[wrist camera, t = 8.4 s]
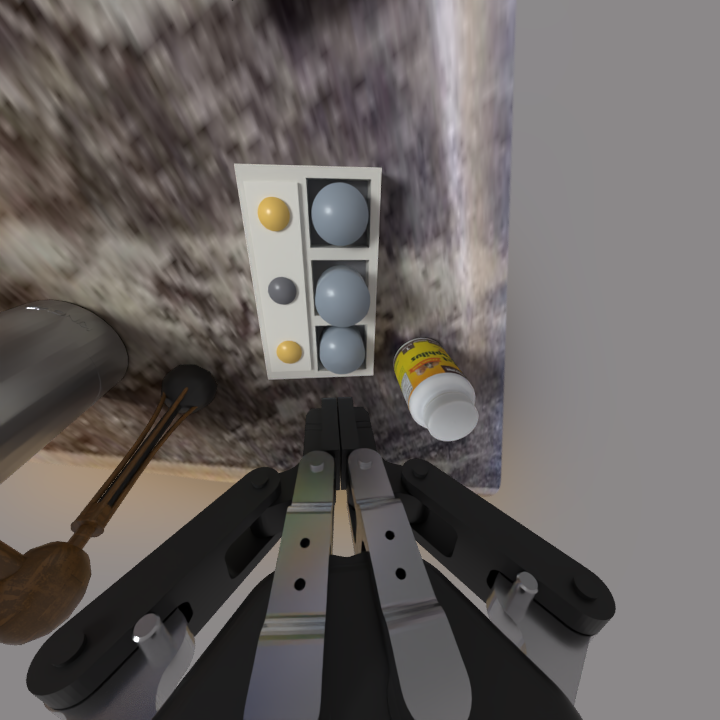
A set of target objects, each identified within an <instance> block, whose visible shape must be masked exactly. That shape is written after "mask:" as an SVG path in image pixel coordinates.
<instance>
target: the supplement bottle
mask: <svg viewBox="0 0 720 720" xmlns="http://www.w3.org/2000/svg"><path fill="white" fill-rule="evenodd" d="M393 367H394V372H395V375H396V377H397V380H398V382H399V385H400V387H401V390H402V393H403V395H404V398H405V400H406V403H407V405H408V408H409V410H410V413H411V415H412V417H413V419H414V420H415V421H416V422H417V423H418V424H419V425H421V426H423V427H425V428H427V429H428V430H429V432H430V434H431V435H432V436H433V437H435V438H436V439H438V440H442V441H454V440H458V439H461V438H463V437H465V436H466V435H468V434H469V433H470V432H471V431H472V430H473V429H474V428H475V426H476V424H477V422H478V411H477V409H476V407H475V406H474V404H475V392H474V389H473V387H472V385H471V383H470V382H469V381H468V379H467V378H466V377H465V376H464V374H463V373H462V372H461V371H460V369H459V368H458V367H457V365H456V364H455V363H454V362H453V360H452V359H451V358H450V357H449V355H448V354H447V353H446V352H445V350H444V349H443V348H442V347H441V346H440V345H439V344H438V343H437V342H436V341H434V340H431V339H428V338H417V339H413V340H411V341H409V342H407V343H405V344H404V345H403V346H402V347H400V349H399V350H398V351H397V353H396V355H395V357H394V362H393Z"/></svg>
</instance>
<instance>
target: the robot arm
mask: <svg viewBox="0 0 720 720" xmlns="http://www.w3.org/2000/svg"><path fill="white" fill-rule="evenodd" d="M127 367H128V356H127V352H126V349H125V346H124V344H123V342H122V341H121V339H120V337H119V336H118V335H117V333H116V332H115V331H114V330H113V329H112V328H111V327H110V326H109V325H108V324H107V323H106V322H105V321H104V320H102V319H101V318H99V317H98V316H96V315H95V314H93V313H92V312H90V311H88V310H86V309H84V308H82V307H79V306H77V305H74V304H70V303H67V302H63V301H56V300H38V301H34V302H30V303H27V304H24V305H21V306H18V307H15V308H12V309H9V310H6V311H3V312H0V484H2V483H3V482H4V481H5V480H6V479H7V478H8V477H10V476H11V475H12V474H13V473H14V472H15V471H16V470H18V469H19V468H20V467H21V466H22V465H24V464H25V463H26V462H27V461H28V460H30V459H31V458H32V457H33V456H34V455H35V454H36V453H38V452H39V451H40V450H41V449H42V448H43V447H44V446H46V445H47V444H48V443H49V442H50V441H51V440H53V439H54V438H55V437H56V436H57V435H58V434H59V433H61V432H62V431H63V430H64V429H65V428H66V427H67V426H69V425H70V424H71V423H72V422H73V421H74V420H76V419H77V418H78V417H79V416H80V415H81V414H82V413H84V412H85V411H86V410H87V409H88V408H89V407H91V406H92V405H93V404H94V403H95V402H96V401H97V400H99V399H100V398H101V397H102V396H103V395H104V394H105V393H106V392H108V391H109V390H110V389H111V388H112V387H113V386H114V385H116V384H117V383H118V382H119V381H120V380H121V379H122V378H123V376H124V375H125V373H126V370H127ZM340 479H341V490H347V510H348V516H349V522H350V528H351V534H352V540H353V546H354V554H355V555H354V556H351V557H342V556H336V555H332V554H333V530H334V505H335V503H336V490H340ZM281 537H282V538H281ZM280 538H281V543H280V548H279V554H278V558H277V563H276V569H275V571H274V572H272V573H271V574H269V575H268V576H266V577H265V578H264V579H263V580H262V581H260V583H259V584H258V585H257V586H256V587H255V588H254V589H253V590H252V591H251V592H250V594H249V595H248V596H247V597H246V599H245V600H244V601H243V603H242V604H241V605H240V607H239V608H238V609H237V610H236V612H235V613H234V614H233V615H232V617H231V618H230V619H229V621H228V622H227V623H226V624H225V626H224V627H223V628H222V629H221V631H220V632H219V633H218V635H217V636H216V637H215V638H214V640H213V641H212V643H211V644H210V645H209V646H208V647H207V649H206V650H205V651H204V653H203V654H202V655H201V656H200V658H199V659H198V660H197V662H196V663H195V664H194V666H193V667H192V668H191V669H190V671H189V672H188V673H187V674H186V676H185V677H184V678H183V680H182V681H181V682H180V683H179V685H178V686H177V684H178V682H179V680H180V679H181V678H182V676H183V675H184V673H185V672H186V670H187V669H188V667H189V665H190V663H191V660H192V658H193V655H194V650H195V638H194V637H195V636H196V635H197V633H198V632H199V631H200V630H201V629H202V627H203V626H204V625H205V624H206V623H207V622H208V621H209V620H210V618H211V617H212V616H213V615H214V614H215V613H216V611H217V610H218V609H219V608H220V607H221V606H222V605H223V603H224V602H225V601H226V600H227V599H228V598H229V597H230V595H231V594H232V593H233V592H234V591H235V590H236V589H237V587H238V586H239V585H240V584H241V583H242V582H243V581H244V579H245V578H246V577H247V576H248V575H249V574H250V572H251V571H252V570H253V569H254V568H255V567H256V566H257V564H258V563H259V562H260V561H261V560H262V559H263V558H264V556H265V555H266V554H267V553H268V552H269V550H271V548H272V547H273V546H274V545H275V544H276V543H277V541H278V540H279V539H280ZM415 540H416V541H417V542H418V543H419V544H420V545H421V546H422V547H423V548H425V549H426V550H427V551H428V552H429V553H430V554H431V555H432V556H433V557H435V558H436V559H437V560H438V561H439V562H440V563H441V564H442V565H444V566H445V567H446V568H447V569H448V570H449V571H450V572H451V573H452V574H454V575H455V576H456V577H457V578H458V579H459V580H460V581H461V582H463V583H464V584H465V585H466V586H467V587H468V588H469V589H470V590H471V591H473V592H474V593H475V594H476V595H477V596H478V597H479V598H480V599H482V600H483V601H484V602H485V603H486V608H487V612H488V615H489V618H490V620H491V621H490V620H489V619H488V618H487V617H486V616H485V615H484V614H483V613H482V612H481V611H480V610H479V609H478V608H477V607H476V606H475V605H474V604H473V603H472V602H471V601H470V600H469V599H468V598H467V597H466V596H465V595H464V594H463V593H462V592H461V591H460V590H458V589H457V588H456V587H455V586H454V585H453V584H452V583H451V582H450V581H449V580H448V579H447V578H446V577H445V576H444V575H443V574H442V573H441V572H440V571H439V570H438V569H437V568H435V567H434V566H433V565H431V564H430V563H428V562H427V561H425V560H423V559H422V558H421V555H420V552H419V550H418V546H417V543H416V541H415ZM615 609H616V608H615V602H614V599H613V596H612V594H611V592H610V591H609V589H608V588H607V586H606V585H605V584H604V583H603V582H602V580H601V579H600V578H599V577H598V576H596V575H595V574H594V573H593V572H591V571H590V570H588V569H587V568H586V567H584V566H583V565H581V564H580V563H578V562H577V561H575V560H574V559H572V558H571V557H569V556H568V555H566V554H565V553H563V552H562V551H560V550H559V549H557V548H556V547H554V546H553V545H551V544H550V543H548V542H547V541H545V540H544V539H542V538H541V537H539V536H538V535H536V534H535V533H533V532H532V531H530V530H529V529H528V528H526V527H525V526H523V525H522V524H520V523H519V522H517V521H516V520H514V519H513V518H511V517H510V516H508V515H507V514H505V513H503V512H502V511H501V510H499V509H497V508H496V507H495V506H493V505H492V504H490V503H489V502H487V501H486V500H484V499H483V498H481V497H480V496H478V495H477V494H475V493H474V492H472V491H471V490H469V489H468V488H466V487H465V486H463V485H462V484H460V483H459V482H458V481H456V480H455V479H453V478H452V477H450V476H449V475H447V474H446V473H444V472H443V471H441V470H440V469H438V468H437V467H435V466H434V465H432V464H431V463H429V462H427V461H425V460H422V459H411V460H408V461H407V462H405V463H404V465H403V466H401V465H397V464H392V463H389V462H387V461H385V460H384V459H382V458H381V456H380V455H379V454H378V453H377V450H376V445H375V441H374V436H373V432H372V428H371V423H370V418H369V414H368V412H367V411H366V410H365V409H364V408H363V407H353V400H352V397H338V398H337V401H336V398H322V408H317V409H311V410H310V411H309V412H308V414H307V415H306V425H305V438H304V451H303V457H302V459H301V460H300V462H299V464H298V465H296V466H295V467H294V468H292V469H290V470H287V471H284V472H281V473H278V472H277V471H276V470H275V469H273V468H269V467H261V468H257V469H254V470H252V471H251V472H249V473H248V474H247V475H245V476H244V477H243V478H242V479H240V480H239V481H238V482H237V483H236V484H234V485H233V486H232V487H231V488H230V489H228V490H227V491H226V492H225V493H224V494H222V495H221V496H220V497H219V498H217V499H216V500H215V501H214V502H213V503H212V504H210V505H209V506H208V507H206V508H205V509H204V510H203V511H202V512H200V513H199V514H198V515H197V516H196V517H194V518H193V519H192V520H191V521H189V522H188V523H187V524H186V525H185V526H183V527H182V528H181V529H180V530H179V531H177V532H176V533H175V534H174V535H172V536H171V537H170V538H169V539H168V540H166V541H165V542H164V543H163V544H162V545H160V546H159V547H158V548H157V549H156V550H154V551H153V552H152V553H151V554H150V555H148V556H147V557H146V558H144V559H143V560H142V561H141V562H140V563H138V564H137V565H136V566H135V567H134V568H132V570H130V571H129V572H127V573H126V574H125V575H124V576H123V577H121V578H120V579H119V580H118V581H117V582H116V583H114V584H113V585H112V586H111V587H109V588H108V589H107V590H106V591H104V592H103V593H102V594H101V595H100V596H98V597H97V598H96V599H95V600H93V601H92V602H91V603H90V604H89V605H87V606H86V607H85V608H84V609H83V610H81V611H80V612H79V613H78V614H76V615H75V616H74V617H73V618H72V619H70V620H69V621H68V622H67V623H66V624H64V625H63V626H62V627H61V628H59V629H58V630H57V631H56V632H55V633H54V634H53V635H52V636H51V637H50V638H49V639H48V640H47V641H46V642H45V643H44V644H43V645H42V647H41V648H40V649H39V651H38V652H37V654H36V655H35V657H34V659H33V660H32V662H31V665H30V667H29V670H28V673H27V679H26V683H27V687H28V690H29V691H30V692H31V693H32V694H33V695H35V696H36V697H37V698H39V699H40V700H41V701H43V703H44V705H45V707H46V708H47V709H48V710H49V711H51V712H52V713H53V714H54V715H56V716H57V717H58V718H60V719H61V720H582V718H581V716H580V714H579V713H578V712H577V710H576V709H575V707H574V703H575V699H576V694H577V690H578V686H579V682H580V678H581V673H582V669H583V665H584V660H585V657H586V652H587V648H588V644H589V642H590V641H591V640H592V639H593V638H594V637H595V636H596V635H597V634H598V632H599V631H600V630H601V629H602V628H603V627H604V626H605V624H606V623H607V622H608V621H609V620H610V619H611V618H612V617H613V616H614V613H615ZM176 686H177V687H176ZM175 688H176V689H175Z"/></svg>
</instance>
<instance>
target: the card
mask: <svg viewBox="0 0 720 720" xmlns="http://www.w3.org/2000/svg"><path fill="white" fill-rule="evenodd" d="M243 183H244V190H245V196H246V203H247V210H248V216H249V223H250V230H251V237H252V243H253V250H254V257H255V264H256V270H257V277H258V284H259V290H260V297H261V304H262V311H263V317H264V324H265V331H266V337H267V344H268V351H269V358H270V364H271V371H272V372H282V371H308V370H311V357H310V344H309V330H308V317H307V303H306V290H305V276H304V263H303V249H302V236H301V222H300V209H299V196H298V183H297V182H259V181H243Z"/></svg>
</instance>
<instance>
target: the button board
mask: <svg viewBox="0 0 720 720" xmlns="http://www.w3.org/2000/svg"><path fill="white" fill-rule="evenodd" d="M234 167H235V173H236V180H237V186H238V192H239V199H240V205H241V211H242V218H243V224H244V230H245V237H246V243H247V249H248V256H249V262H250V268H251V275H252V281H253V287H254V294H255V300H256V306H257V313H258V319H259V325H260V332H261V338H262V344H263V351H264V357H265V363H266V370H267V376H268V380H271V379H296V378H320V377H345V376H369V375H373V367H374V343H375V319H376V294H377V270H378V245H379V221H380V197H381V172H382V168H372V167H335V166H298V165H261V164H234ZM243 181H259V182H297V183H298V196H299V209H300V222H301V236H302V249H303V263H304V276H305V290H306V303H307V317H308V330H309V344H310V357H311V370H308V371H282V372H272V371H271V364H270V358H269V351H268V344H267V337H266V331H265V324H264V317H263V311H262V304H261V297H260V290H259V284H258V277H257V270H256V264H255V257H254V250H253V243H252V237H251V230H250V223H249V216H248V210H247V203H246V196H245V190H244V183H243ZM338 182H341V183H346V184H349V185H352V186H353V187H355V188H356V189H357V190H358V191H359V192H360V193H361V194H362V195H363V197H364V199H365V201H366V203H367V207H368V215H369V216H368V223H367V227H366V229H365V231H364V233H363V234H362V236H361V237H360V238H359V239H358V240H357V241H355V242H354V243H352V244H349V245H345V246H337V245H333V244H330V243H328V242H326V241H325V240H324V239H322V238H321V237H320V235H319V234H318V233H317V231H316V229H315V227H314V225H313V221H312V205H313V202H314V199H315V197H316V196H317V194H318V193H319V192H320V191H321V190H322V189H323V188H324V187H325V186H327V185H329V184H332V183H338ZM337 265H345V266H349V267H351V268H353V269H355V270H356V271H357V272H359V274H360V275H361V276H362V278H363V280H364V282H365V284H366V286H367V288H368V290H369V293H370V307H369V310H368V312H367V314H366V316H365V317H364V318H363V319H362V320H361V321H360V322H358V323H357V324H355V325H354V326H356V327H357V329H358V330H359V332H360V334H361V337H362V341H363V345H364V349H365V358H364V361H363V363H362V365H361V366H360V367H359V368H358V369H357V370H355V371H353V372H351V373H348V374H336V373H333V372H331V371H329V370H327V369H326V368H325V367H324V366H323V364H322V362H321V360H320V338H321V334H322V332H323V330H324V329H325V328H326V327H327V326H328V325H331V324H329V323H327V322H326V321H324V320H323V319H322V318H321V316H320V315H319V313H318V311H317V309H316V305H315V296H316V287H317V282H318V280H319V278H320V276H321V275H322V273H323V272H324V271H326V270H327V269H328V268H330V267H333V266H337Z"/></svg>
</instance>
